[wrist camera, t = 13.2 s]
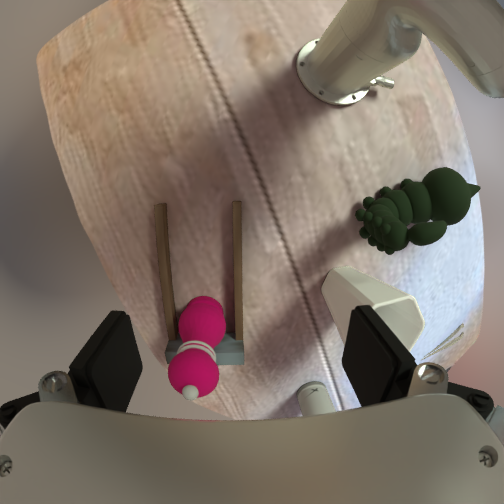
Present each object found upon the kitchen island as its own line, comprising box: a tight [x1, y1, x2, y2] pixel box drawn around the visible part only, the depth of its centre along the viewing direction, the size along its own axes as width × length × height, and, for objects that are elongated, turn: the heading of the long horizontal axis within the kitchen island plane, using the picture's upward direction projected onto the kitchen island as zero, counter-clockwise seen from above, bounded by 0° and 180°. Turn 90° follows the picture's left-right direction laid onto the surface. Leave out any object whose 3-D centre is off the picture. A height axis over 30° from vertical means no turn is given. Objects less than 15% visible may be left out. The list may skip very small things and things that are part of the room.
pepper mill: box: [168, 296, 226, 400], centre depth 35 cm, size 7×7×20 cm
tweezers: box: [422, 323, 464, 360], centre depth 52 cm, size 17×5×2 cm, turn 115°
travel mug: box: [297, 381, 336, 416], centre depth 41 cm, size 6×7×20 cm
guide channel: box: [154, 201, 244, 365], centre depth 40 cm, size 12×24×6 cm, turn 0°
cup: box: [321, 266, 425, 352], centre depth 36 cm, size 11×10×17 cm
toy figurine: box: [355, 167, 480, 255], centre depth 33 cm, size 9×19×25 cm
